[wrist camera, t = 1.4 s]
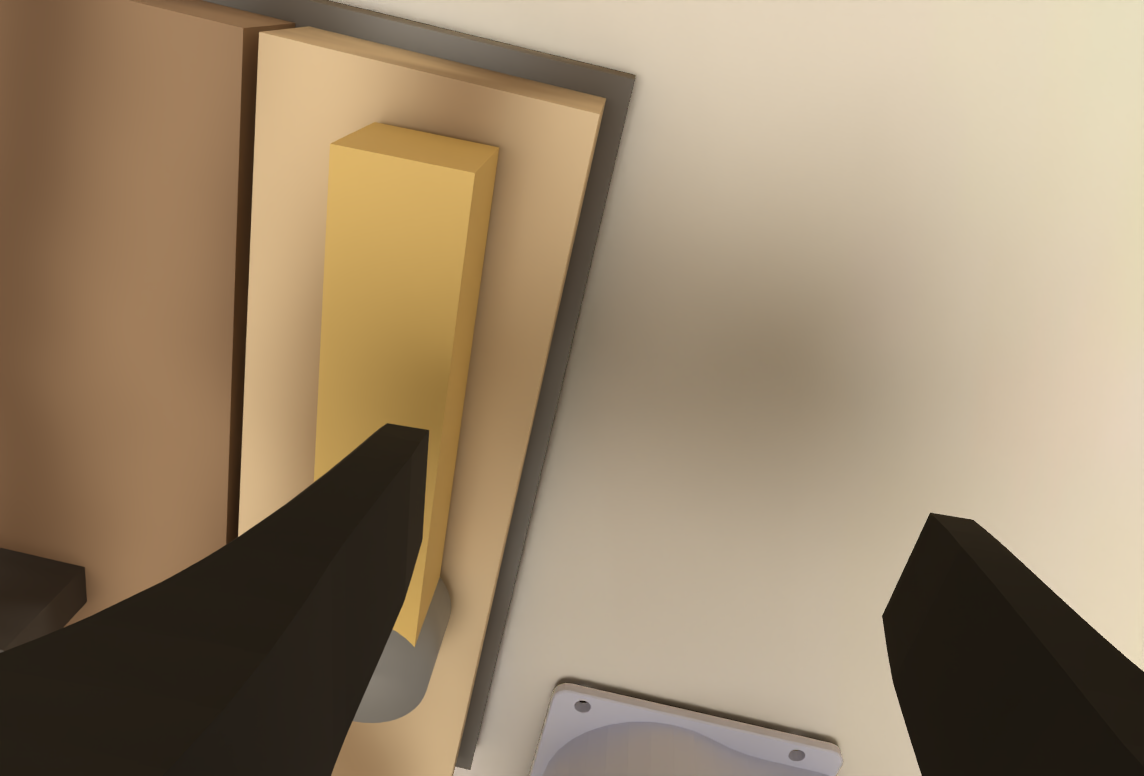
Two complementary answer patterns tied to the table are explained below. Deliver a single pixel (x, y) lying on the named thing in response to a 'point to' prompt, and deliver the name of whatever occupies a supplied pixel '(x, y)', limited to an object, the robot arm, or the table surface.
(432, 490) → the bar
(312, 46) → the wooden board with knob
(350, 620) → the robot arm
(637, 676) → the table surface
